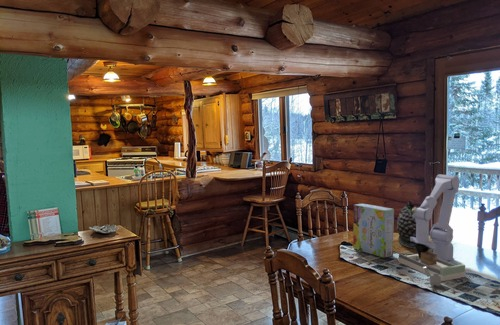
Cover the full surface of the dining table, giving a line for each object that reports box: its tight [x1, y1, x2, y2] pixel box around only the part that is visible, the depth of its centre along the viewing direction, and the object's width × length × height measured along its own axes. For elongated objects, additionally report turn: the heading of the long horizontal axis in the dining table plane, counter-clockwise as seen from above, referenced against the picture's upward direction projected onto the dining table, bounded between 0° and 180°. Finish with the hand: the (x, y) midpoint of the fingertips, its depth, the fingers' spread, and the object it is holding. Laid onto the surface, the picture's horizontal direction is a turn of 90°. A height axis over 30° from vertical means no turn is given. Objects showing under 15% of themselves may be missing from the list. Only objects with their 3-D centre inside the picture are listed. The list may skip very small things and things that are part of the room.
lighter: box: [423, 266, 442, 287], centre depth 174 cm, size 7×2×8 cm, turn 78°
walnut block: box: [421, 250, 437, 265], centre depth 194 cm, size 5×5×5 cm
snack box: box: [352, 203, 395, 259], centre depth 219 cm, size 22×9×26 cm, turn 34°
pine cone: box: [396, 200, 418, 249], centre depth 232 cm, size 21×15×25 cm
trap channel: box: [397, 253, 466, 282], centre depth 193 cm, size 14×28×6 cm, turn 20°
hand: (421, 258), depth 198 cm, fingers closed
